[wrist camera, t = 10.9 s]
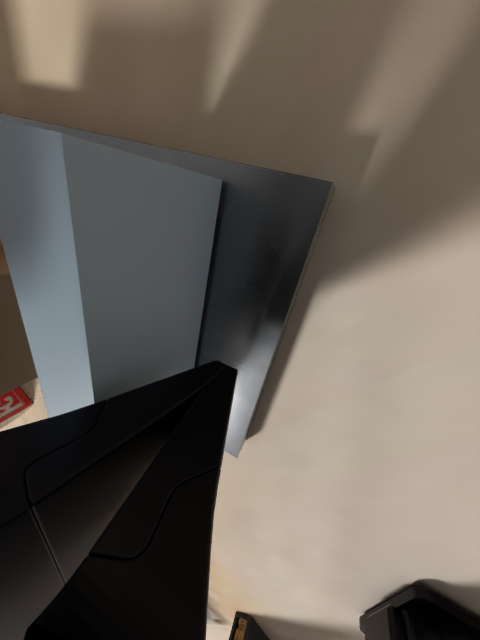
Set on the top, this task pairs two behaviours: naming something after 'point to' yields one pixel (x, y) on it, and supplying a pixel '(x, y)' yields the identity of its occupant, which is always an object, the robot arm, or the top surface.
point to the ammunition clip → (246, 628)
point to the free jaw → (103, 262)
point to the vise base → (243, 262)
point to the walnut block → (12, 336)
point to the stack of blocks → (13, 406)
